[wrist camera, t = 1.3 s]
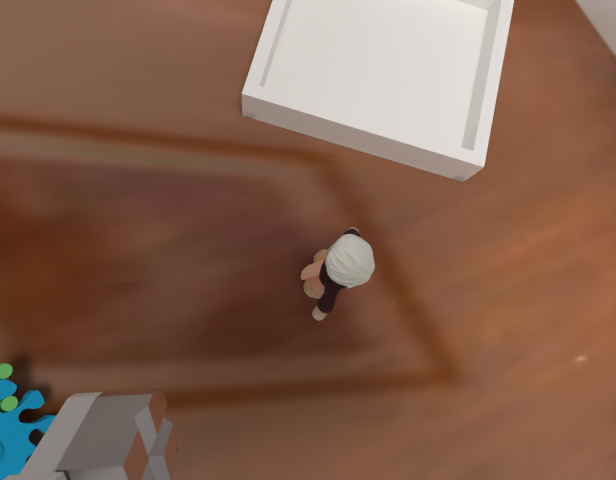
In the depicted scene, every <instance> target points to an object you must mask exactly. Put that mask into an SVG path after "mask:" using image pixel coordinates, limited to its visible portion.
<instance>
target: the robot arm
mask: <svg viewBox="0 0 616 480" xmlns="http://www.w3.org/2000/svg"><path fill="white" fill-rule="evenodd" d="M167 407H168V405H167V402H166V399H165V396H164V393H163V391H161V390H158V389H153V390H130V391H106V392H98V393H75V394H74V395H72V396H71V397H69V398H68V399H67V400H66V401H65V403H64V405H63V406H62V408H61V409H60V411H59V412H58V414H57V416H56V417H55V419H54V420H53V422H52V424H51V425H50V427H49V428H48V430H47V431H46V433H45V435H44V436H43V438H42V439H41V441H40V442H39V444H38V446H37V447H36V449H35V450H34V452H33V453H32V455H31V457H30V458H29V460H28V461H27V463H26V464H25V466H24V468H23V469H22V471H21V472H20V474H16V475H9V476H8V477H6V478H5V479H4V480H172V476H173V472H174V469H175V464H176V453H177V443H176V434H175V430H174V426H173V424H172V423H170V422H169V421H168V420H166V419H165V418H164V415H165V412H166V410H167Z"/></svg>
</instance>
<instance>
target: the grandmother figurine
mask: <svg viewBox="0 0 616 480" xmlns="http://www.w3.org/2000/svg"><path fill="white" fill-rule="evenodd" d="M313 261H314V263H313V264H310V265H308V266H307V267H305V268H304V269H303V271H302V273H301V279H302V280H305V283H304V292H305V293H306V295H308V296H309V297H312V298H317V299H319V301H318V303H317V305H316V308H314V310H313V312H312V316H313V318H314V319H316V320H322V319H324V318H325V316H326V315H327V314H328V313H330V312H331V311H332V309H333V307H334V303H335V299H336V296H337V294H338V292H339V290H340V289H342V288H345V287H346V286H347V287H348V289H349V288H352V287H354V286H358V285H361V284H363V283H365V282H367V281H368V280H369V279H370V276H371V274H372V273H373V271H374V268H375V263H374V259H373V253H372V249H371V246H370V245H369V244H368V243H367V242H366V241H364V240H363V239H361V238H360V234H359V231H358V229H357V228H355V227H351V228H349V229H348V230H347V231H346V232H345V233H344V234H343V236H341V237H340V238H339V239H338V240H337V241H336V243H334V244H332V245H331V246H330V248H329V249H328V250H327V249H322V250H320V251H318V252H317V253H316V255H315V256H314V260H313Z"/></svg>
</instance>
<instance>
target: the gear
mask: <svg viewBox="0 0 616 480" xmlns="http://www.w3.org/2000/svg"><path fill="white" fill-rule="evenodd" d="M12 371H13V370H12V367H11V365H9V364H3V363H0V480H4V479H5V478H6V477H8V476H9V475H16V474H20V472H21V471H22V469H23V468H24V466H25V462H26V459H27V458H28V456H30V455H31V454H32V453H33V452H34V450H35V449H36V446H35V445H33V444H32V443H31V442H30V441H29V434H30V432H31V431H32V430H34V429H38V430H39V431H40V432H43V433H46V431H47V430H48V428H49V427H50V425H51V424H52V422H53V420H54V419H55V417H56V416H55V415H45V416H43V417H42V418H40V419H38V420H36V421H33V422H29V423H22V422H20V421H19V418H18V417H19V414H20V412H21V411H22V410H24V409H27V408H29V409H37V408H40V407H41V406H42V405H43V404H44V399H43V397H42V395H41V394H40V392H39V391H38V390H30V391H28V392H26V393H25V394H24V396H23V397H22V399H21V400H20V401H19V402H18V400H17V398H16V397H14V396H11V395H12V394H13V393H14V392H15V391H16V389H17V385H16V384H14V383H13V382H11V381H10V379H9V378H8V377H9V376H10V375H11V374H12ZM1 410H4V411H2V412H1Z"/></svg>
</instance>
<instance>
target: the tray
mask: <svg viewBox="0 0 616 480" xmlns="http://www.w3.org/2000/svg"><path fill="white" fill-rule="evenodd" d="M513 3H514V0H273V1H272V4H271V7H270V10H269V13H268V16H267V19H266V22H265V25H264V28H263V31H262V34H261V37H260V40H259V43H258V46H257V49H256V52H255V55H254V58H253V61H252V64H251V67H250V70H249V73H248V76H247V79H246V82H245V85H244V88H243V91H242V116H245V117H248V118H252V119H255V120H258V121H262V122H265V123H268V124H272V125H275V126H278V127H282V128H285V129H288V130H292V131H295V132H298V133H301V134H305V135H308V136H311V137H315V138H318V139H321V140H325V141H328V142H331V143H335V144H338V145H341V146H345V147H348V148H351V149H355V150H358V151H361V152H365V153H368V154H371V155H375V156H378V157H381V158H385V159H388V160H391V161H395V162H398V163H401V164H405V165H408V166H411V167H415V168H418V169H421V170H424V171H428V172H431V173H434V174H438V175H441V176H444V177H448V178H451V179H454V180H458V181H461V182H465V181H466V180H467V179H469V178H470V177H471V176H473V175H474V174H475V173H477V172H478V171H479V170H481V169H482V168H483V167H484V164H485V158H486V153H487V147H488V142H489V136H490V131H491V125H492V120H493V114H494V108H495V103H496V97H497V92H498V86H499V81H500V75H501V70H502V64H503V59H504V53H505V47H506V42H507V36H508V31H509V25H510V20H511V14H512V9H513Z"/></svg>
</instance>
